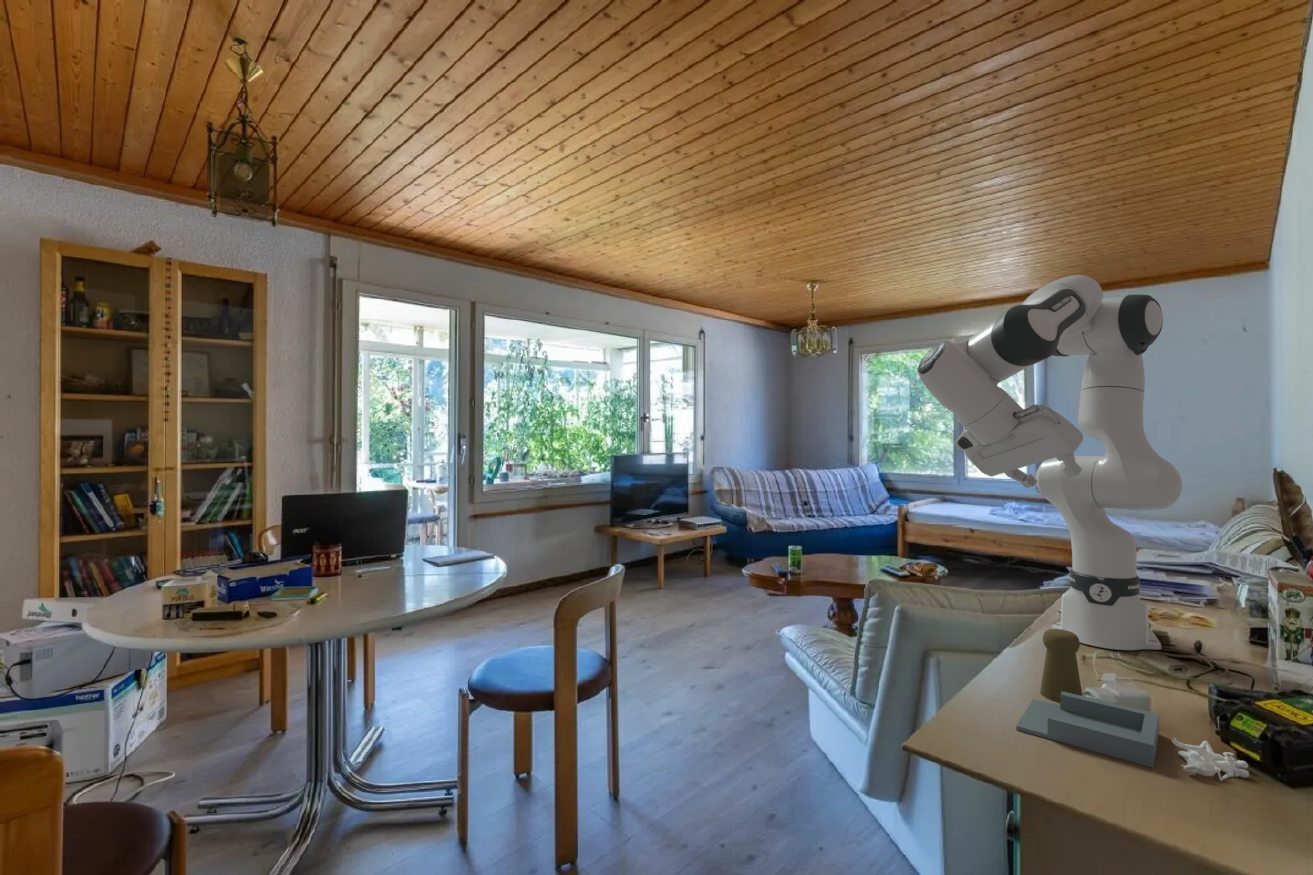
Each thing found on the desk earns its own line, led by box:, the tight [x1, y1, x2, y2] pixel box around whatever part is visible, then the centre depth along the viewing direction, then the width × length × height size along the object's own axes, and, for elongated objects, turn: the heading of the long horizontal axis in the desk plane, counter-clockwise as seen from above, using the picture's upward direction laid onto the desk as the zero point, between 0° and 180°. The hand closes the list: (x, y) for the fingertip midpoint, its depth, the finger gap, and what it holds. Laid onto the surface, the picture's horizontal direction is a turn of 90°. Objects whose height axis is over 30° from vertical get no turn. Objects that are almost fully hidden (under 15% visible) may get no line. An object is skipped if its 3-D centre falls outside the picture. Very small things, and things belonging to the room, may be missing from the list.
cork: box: [1039, 628, 1083, 703], centre depth 103 cm, size 6×6×11 cm
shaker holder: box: [1016, 691, 1160, 769], centre depth 91 cm, size 12×16×3 cm
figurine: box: [1171, 737, 1250, 782], centre depth 81 cm, size 3×8×8 cm
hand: (1053, 479), depth 105 cm, fingers open, 8 cm apart
